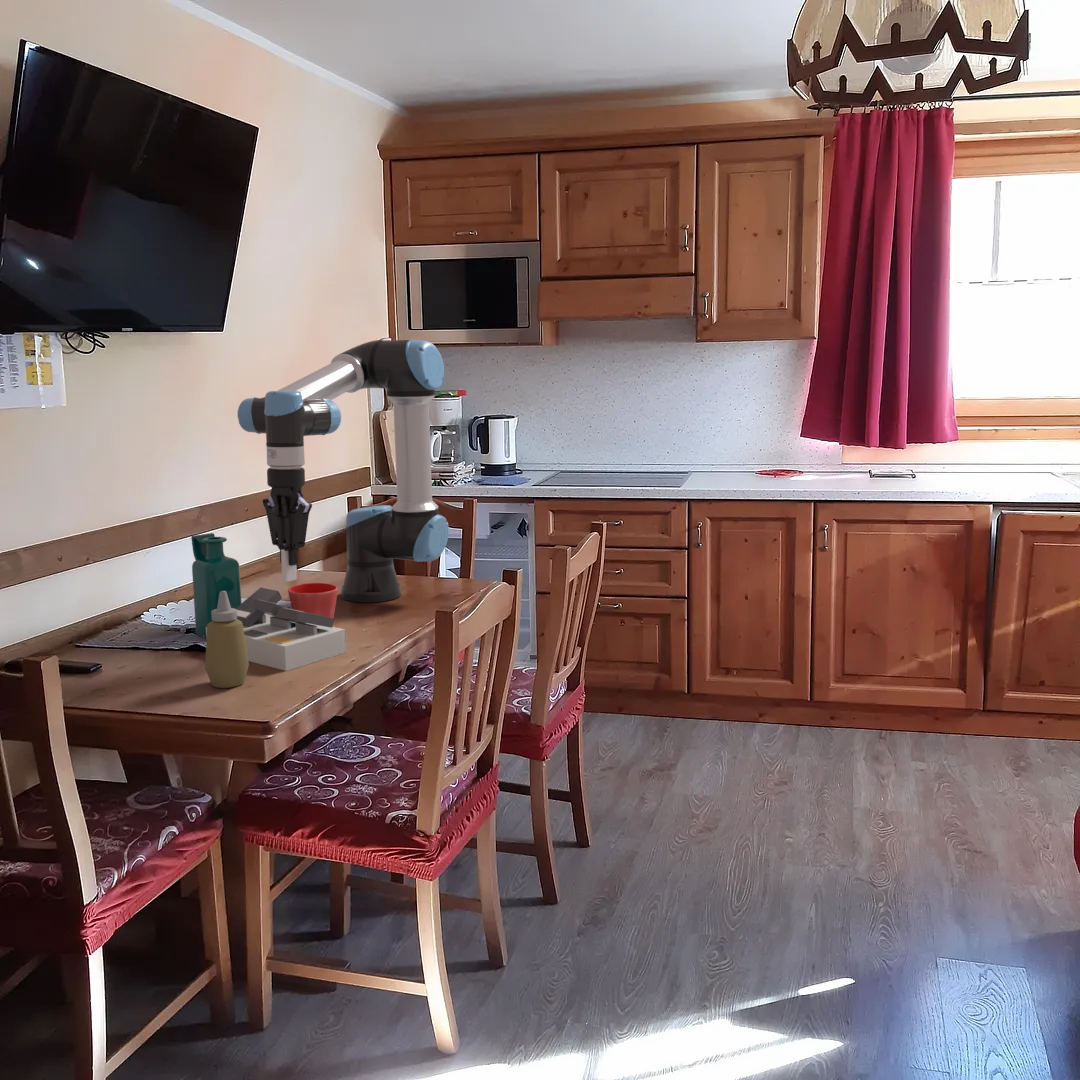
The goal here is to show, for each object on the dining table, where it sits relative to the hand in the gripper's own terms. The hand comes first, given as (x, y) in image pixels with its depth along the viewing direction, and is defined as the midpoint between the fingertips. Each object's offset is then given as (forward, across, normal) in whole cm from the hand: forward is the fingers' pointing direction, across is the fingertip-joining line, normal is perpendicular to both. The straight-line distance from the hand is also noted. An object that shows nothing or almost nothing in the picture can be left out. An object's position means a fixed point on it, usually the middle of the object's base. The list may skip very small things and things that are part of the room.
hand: (289, 580), depth 220 cm
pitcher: (+15, -25, 0) cm, 29 cm away
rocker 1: (+7, -11, -1) cm, 13 cm away
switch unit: (+15, -3, -2) cm, 16 cm away
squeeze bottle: (+16, +8, -22) cm, 28 cm away
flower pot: (+15, -10, +15) cm, 24 cm away
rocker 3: (+7, +5, 0) cm, 9 cm away
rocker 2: (+7, -3, -1) cm, 8 cm away
